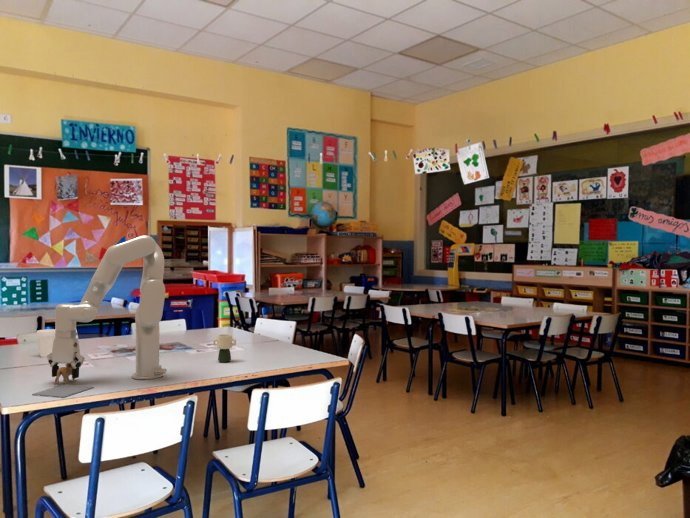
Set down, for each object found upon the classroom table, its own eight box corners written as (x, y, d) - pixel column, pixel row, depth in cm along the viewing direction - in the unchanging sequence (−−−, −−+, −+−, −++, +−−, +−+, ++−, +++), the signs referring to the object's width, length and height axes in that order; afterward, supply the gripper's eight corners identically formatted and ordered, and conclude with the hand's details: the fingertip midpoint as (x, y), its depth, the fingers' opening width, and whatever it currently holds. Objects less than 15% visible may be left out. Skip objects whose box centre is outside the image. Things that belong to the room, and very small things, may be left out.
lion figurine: (66, 380, 233) (66, 358, 234) (79, 379, 234) (80, 358, 234) (51, 386, 219) (52, 363, 219) (65, 386, 219) (66, 362, 220)
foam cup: (48, 358, 279) (48, 332, 279) (32, 357, 281) (32, 331, 281) (61, 354, 289) (61, 329, 288) (46, 354, 290) (46, 328, 290)
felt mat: (94, 387, 220) (94, 386, 220) (63, 397, 204) (63, 396, 204) (64, 385, 223) (64, 384, 223) (32, 395, 208) (32, 394, 208)
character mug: (236, 360, 277) (237, 333, 277) (234, 363, 270) (234, 336, 270) (214, 360, 277) (214, 334, 276) (211, 363, 269) (211, 336, 269)
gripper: (90, 334, 228) (90, 376, 228) (54, 332, 233) (54, 373, 233) (77, 337, 221) (76, 380, 221) (40, 334, 225) (40, 377, 225)
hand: (65, 377), depth 227 cm, fingers open, 9 cm apart
